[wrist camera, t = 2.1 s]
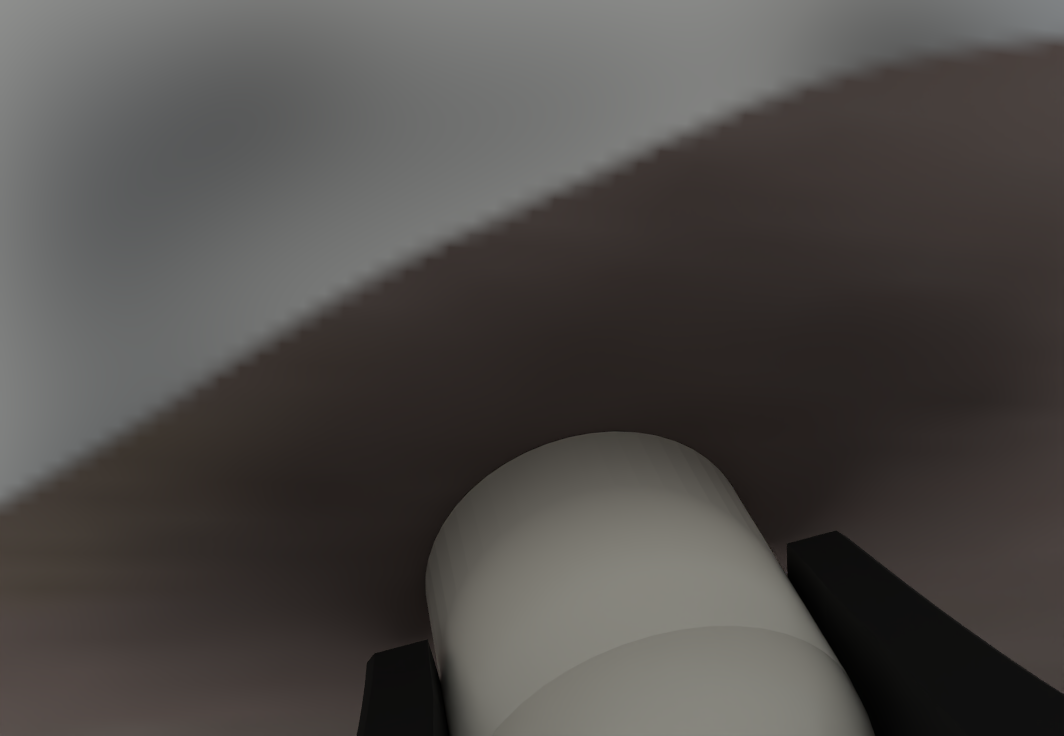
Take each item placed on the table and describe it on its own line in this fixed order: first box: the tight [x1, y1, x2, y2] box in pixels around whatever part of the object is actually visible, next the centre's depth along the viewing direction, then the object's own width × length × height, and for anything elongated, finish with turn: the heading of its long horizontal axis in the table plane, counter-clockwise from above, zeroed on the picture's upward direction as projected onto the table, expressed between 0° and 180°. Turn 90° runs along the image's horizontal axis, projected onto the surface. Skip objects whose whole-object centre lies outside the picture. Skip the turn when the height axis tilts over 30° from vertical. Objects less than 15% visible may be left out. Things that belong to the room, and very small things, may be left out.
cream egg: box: [426, 431, 875, 736], centre depth 11 cm, size 4×4×5 cm
